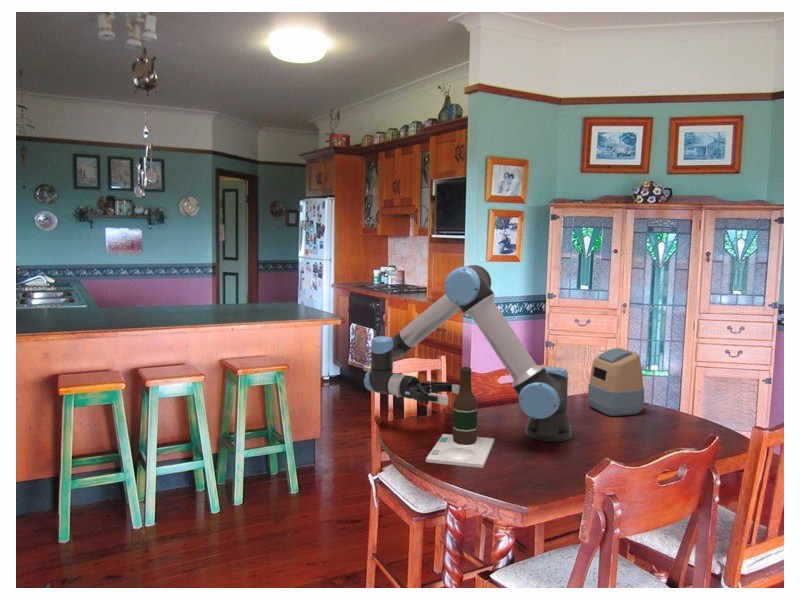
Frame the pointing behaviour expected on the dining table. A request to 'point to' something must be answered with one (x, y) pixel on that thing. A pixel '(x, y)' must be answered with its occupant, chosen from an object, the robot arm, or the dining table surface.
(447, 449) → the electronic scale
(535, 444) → the dining table surface
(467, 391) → the beer bottle
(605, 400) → the tan tapered boxy piece
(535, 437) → the robot arm
